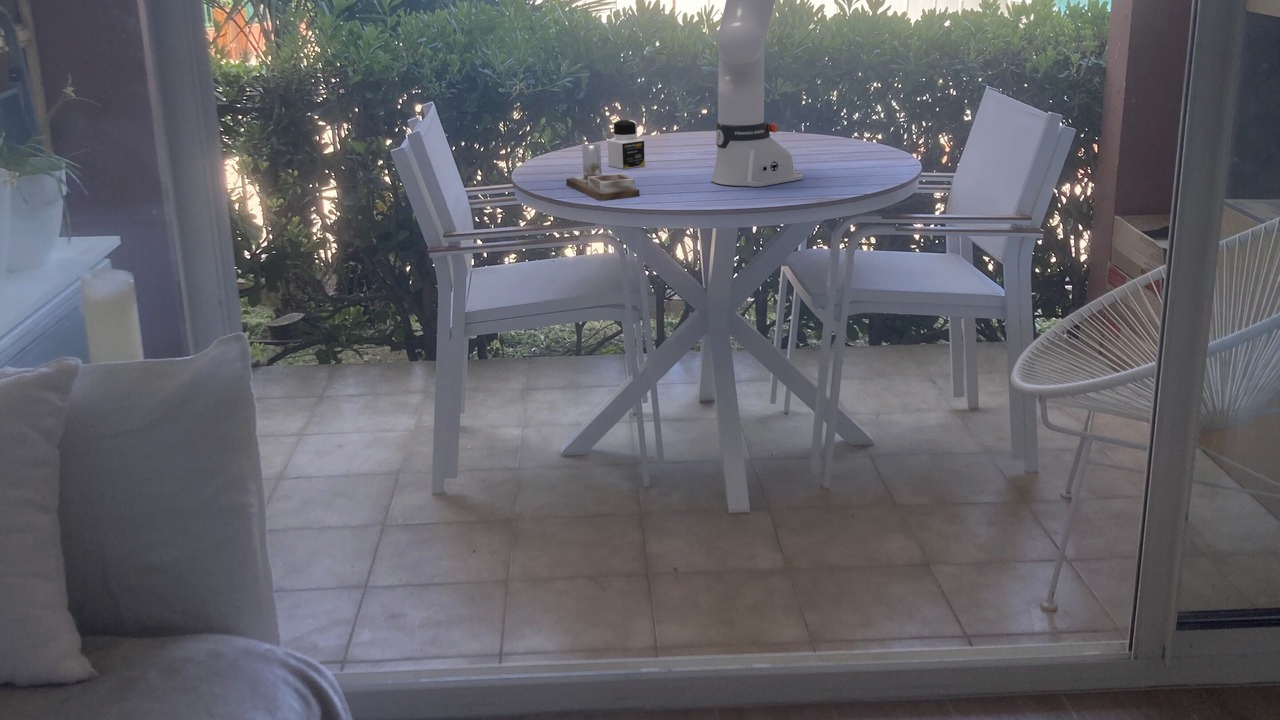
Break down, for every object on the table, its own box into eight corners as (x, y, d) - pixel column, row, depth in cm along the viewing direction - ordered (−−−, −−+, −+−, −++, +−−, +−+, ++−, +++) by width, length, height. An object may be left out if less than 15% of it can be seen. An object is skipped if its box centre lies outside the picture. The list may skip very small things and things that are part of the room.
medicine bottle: (623, 169, 299) (621, 123, 295) (607, 166, 304) (606, 120, 300) (645, 166, 303) (644, 120, 298) (629, 162, 308) (628, 118, 304)
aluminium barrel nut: (597, 175, 280) (596, 143, 278) (604, 178, 277) (603, 145, 274) (580, 177, 279) (579, 144, 276) (587, 180, 275) (586, 147, 272)
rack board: (604, 180, 285) (603, 164, 283) (639, 196, 266) (639, 179, 264) (566, 184, 281) (565, 168, 280) (599, 200, 262) (599, 183, 261)
